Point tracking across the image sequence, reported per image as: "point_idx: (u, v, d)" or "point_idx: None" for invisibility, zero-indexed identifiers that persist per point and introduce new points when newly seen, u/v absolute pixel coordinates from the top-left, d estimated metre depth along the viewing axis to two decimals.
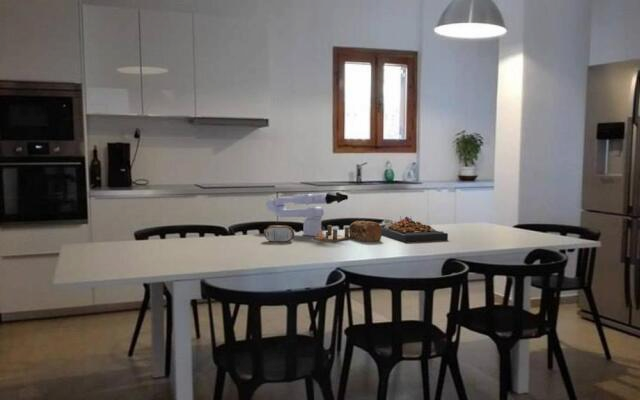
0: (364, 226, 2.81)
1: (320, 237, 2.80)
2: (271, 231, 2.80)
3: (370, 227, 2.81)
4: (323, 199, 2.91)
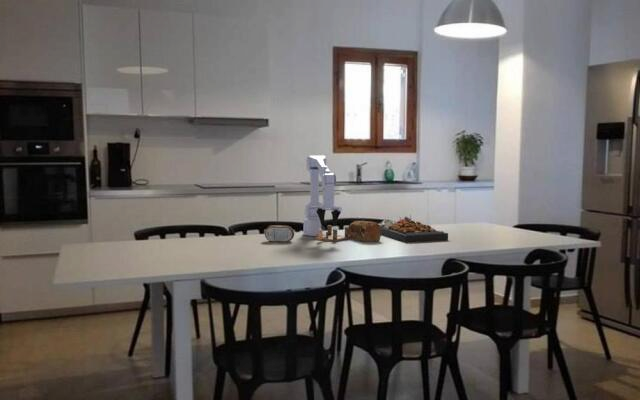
0: (363, 226, 2.81)
1: (320, 237, 2.80)
2: (271, 231, 2.80)
3: (369, 227, 2.81)
4: None
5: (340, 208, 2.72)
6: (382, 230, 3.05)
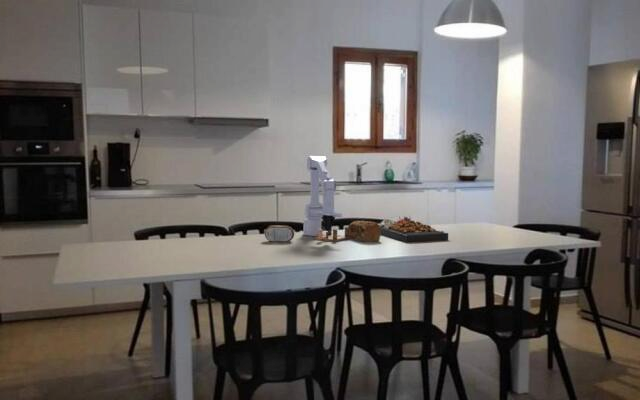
0: (363, 226, 2.81)
1: (320, 237, 2.80)
2: (271, 231, 2.81)
3: (369, 227, 2.81)
4: None
5: (340, 214, 2.72)
6: (382, 230, 3.04)
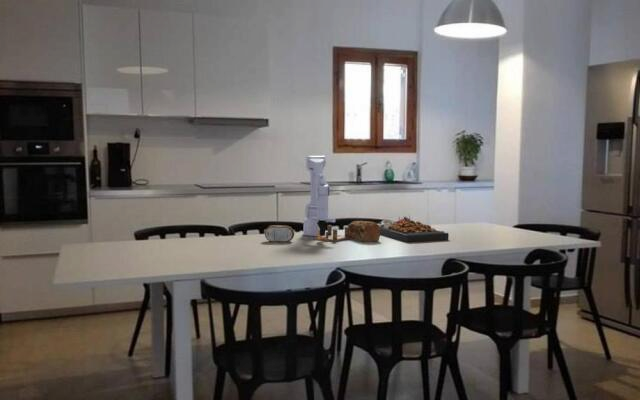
0: (362, 226, 2.81)
1: (319, 237, 2.80)
2: (271, 231, 2.81)
3: (368, 227, 2.81)
4: None
5: (334, 219, 2.75)
6: (382, 230, 3.04)
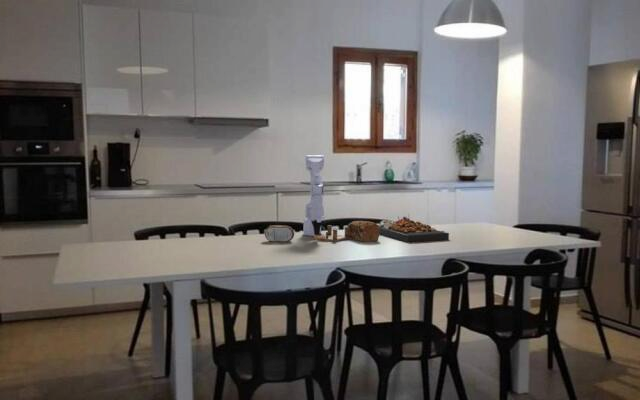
0: (361, 226, 2.81)
1: (314, 236, 2.83)
2: (271, 231, 2.81)
3: (368, 227, 2.80)
4: (318, 221, 2.74)
5: None
6: (382, 230, 3.04)
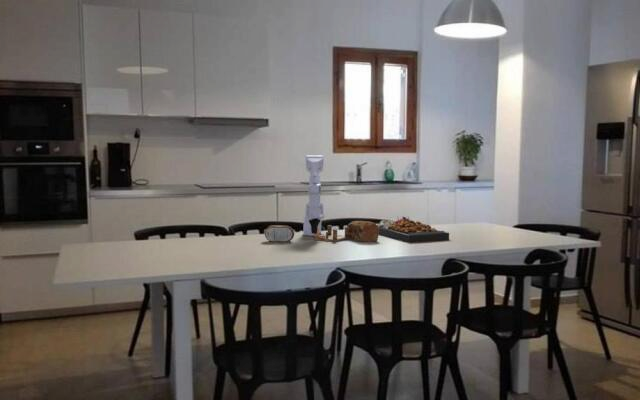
0: (361, 226, 2.81)
1: None
2: (271, 231, 2.80)
3: (367, 227, 2.80)
4: (305, 219, 2.81)
5: None
6: (382, 230, 3.04)
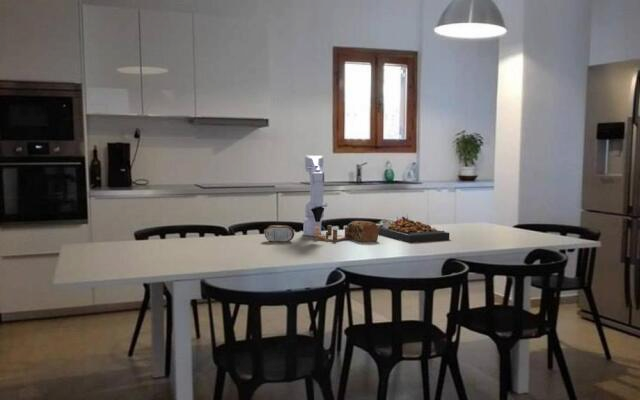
0: (361, 226, 2.81)
1: (315, 234, 2.88)
2: (271, 231, 2.81)
3: (367, 227, 2.80)
4: (308, 207, 2.78)
5: None
6: (382, 230, 3.04)
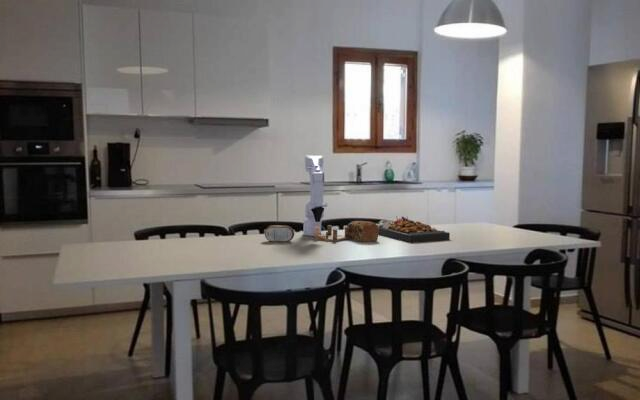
0: (360, 226, 2.81)
1: (315, 234, 2.88)
2: (271, 231, 2.80)
3: (367, 227, 2.81)
4: (308, 207, 2.78)
5: None
6: (382, 230, 3.04)
